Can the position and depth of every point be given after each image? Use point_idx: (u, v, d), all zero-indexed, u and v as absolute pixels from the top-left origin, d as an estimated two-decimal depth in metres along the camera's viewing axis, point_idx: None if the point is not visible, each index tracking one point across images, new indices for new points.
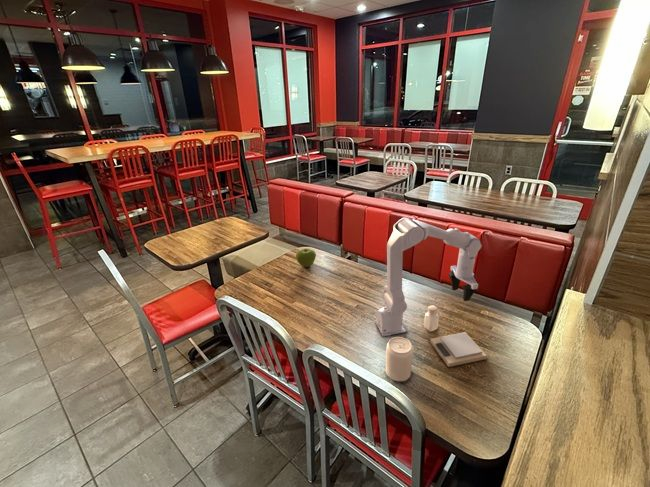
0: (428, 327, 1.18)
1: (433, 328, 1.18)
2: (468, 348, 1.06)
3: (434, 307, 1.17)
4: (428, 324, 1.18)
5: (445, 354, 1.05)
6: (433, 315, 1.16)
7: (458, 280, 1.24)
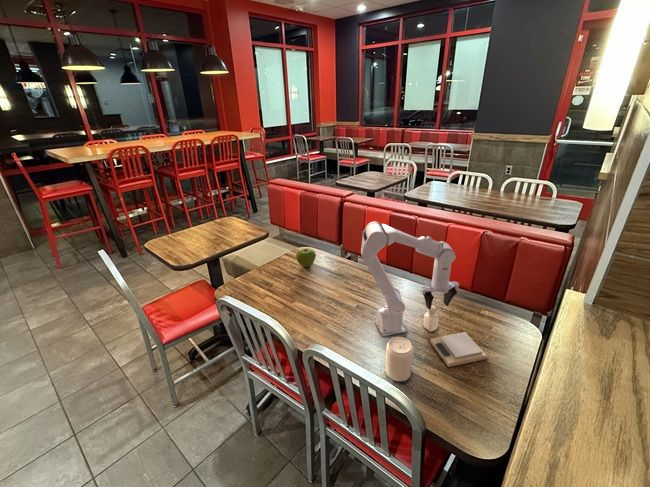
0: (428, 327, 1.18)
1: (433, 328, 1.18)
2: (468, 348, 1.06)
3: (433, 307, 1.16)
4: (428, 324, 1.18)
5: (445, 354, 1.05)
6: (432, 315, 1.16)
7: (448, 296, 1.15)
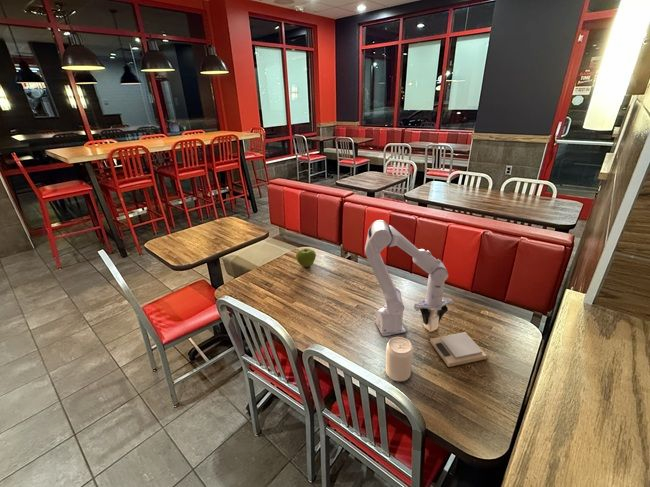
0: (428, 327, 1.18)
1: (433, 328, 1.18)
2: (468, 348, 1.06)
3: None
4: (428, 324, 1.18)
5: (445, 354, 1.05)
6: (433, 315, 1.16)
7: (439, 313, 1.17)
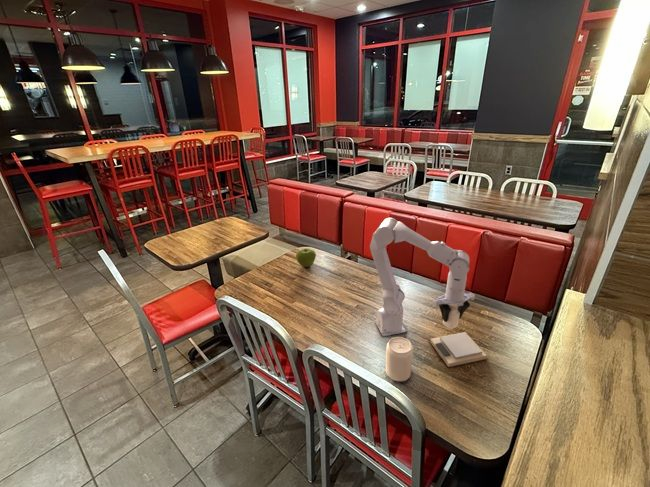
0: (448, 325, 1.09)
1: (453, 326, 1.08)
2: (468, 348, 1.06)
3: None
4: (448, 321, 1.08)
5: (445, 354, 1.05)
6: (453, 311, 1.06)
7: (460, 309, 1.08)
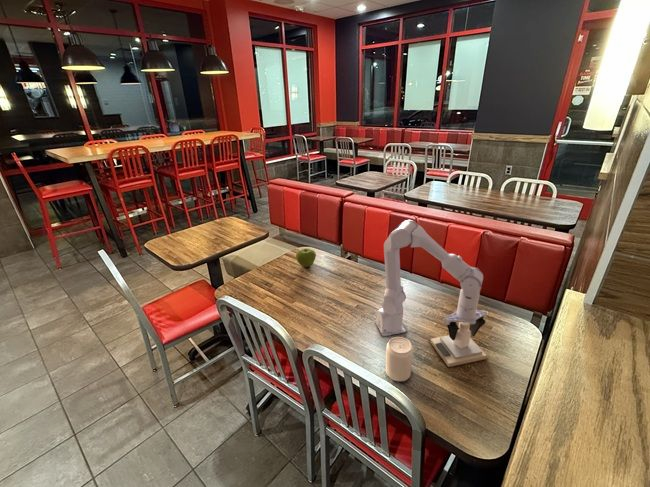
0: (459, 344, 1.06)
1: (464, 345, 1.06)
2: (468, 348, 1.06)
3: None
4: (459, 340, 1.06)
5: (445, 354, 1.05)
6: (465, 330, 1.04)
7: (475, 326, 1.05)
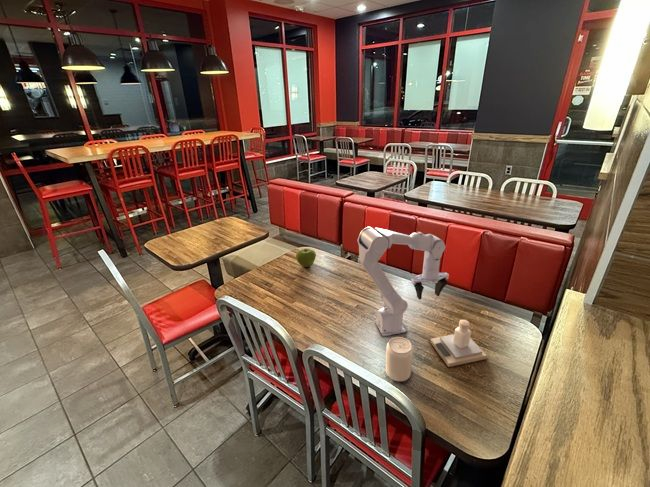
0: (459, 344, 1.06)
1: (464, 345, 1.06)
2: (468, 348, 1.06)
3: (466, 322, 1.05)
4: (459, 340, 1.06)
5: (445, 354, 1.05)
6: (465, 330, 1.04)
7: (438, 287, 1.20)
